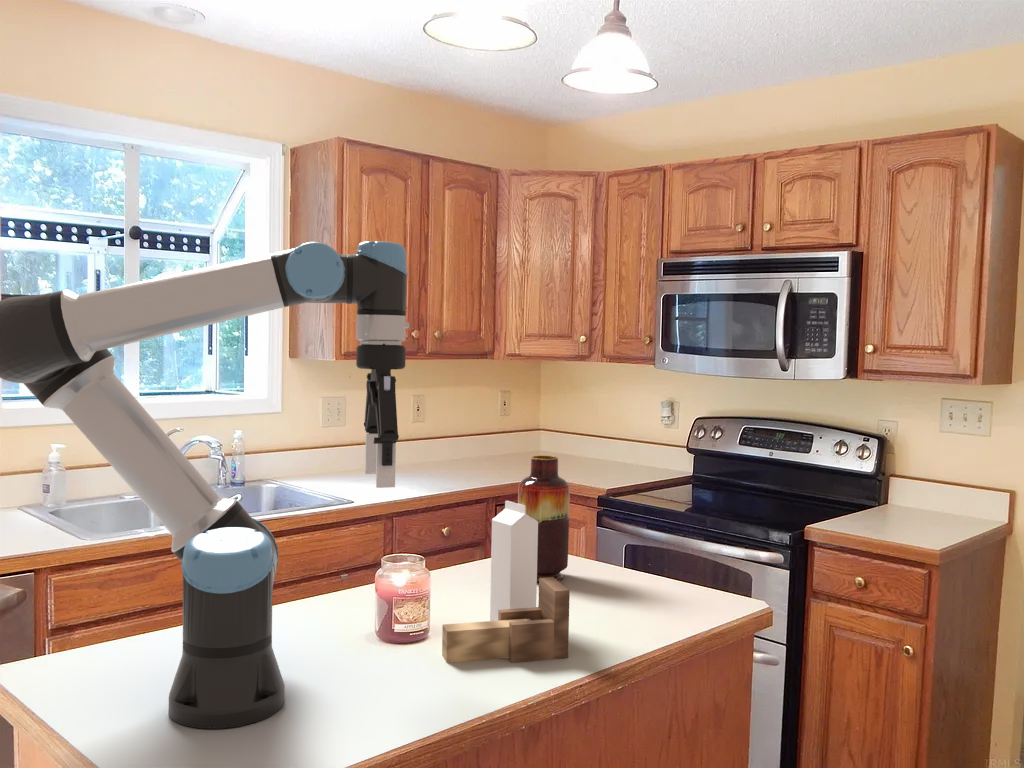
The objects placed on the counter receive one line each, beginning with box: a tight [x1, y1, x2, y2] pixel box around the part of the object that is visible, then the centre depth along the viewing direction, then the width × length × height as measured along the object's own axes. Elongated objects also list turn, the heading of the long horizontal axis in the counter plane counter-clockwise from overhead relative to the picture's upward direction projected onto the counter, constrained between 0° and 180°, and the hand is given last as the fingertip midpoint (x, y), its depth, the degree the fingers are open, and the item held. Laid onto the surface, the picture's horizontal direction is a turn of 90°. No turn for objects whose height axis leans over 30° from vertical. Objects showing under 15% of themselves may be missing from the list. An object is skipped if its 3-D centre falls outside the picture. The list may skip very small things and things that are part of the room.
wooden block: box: [441, 618, 531, 664], centre depth 143 cm, size 15×4×5 cm, turn 106°
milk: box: [489, 500, 538, 621], centre depth 158 cm, size 6×6×22 cm
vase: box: [517, 455, 571, 582], centre depth 190 cm, size 11×11×26 cm
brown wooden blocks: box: [498, 577, 571, 663], centre depth 145 cm, size 10×8×11 cm
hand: (379, 480), depth 137 cm, fingers open, 13 cm apart
